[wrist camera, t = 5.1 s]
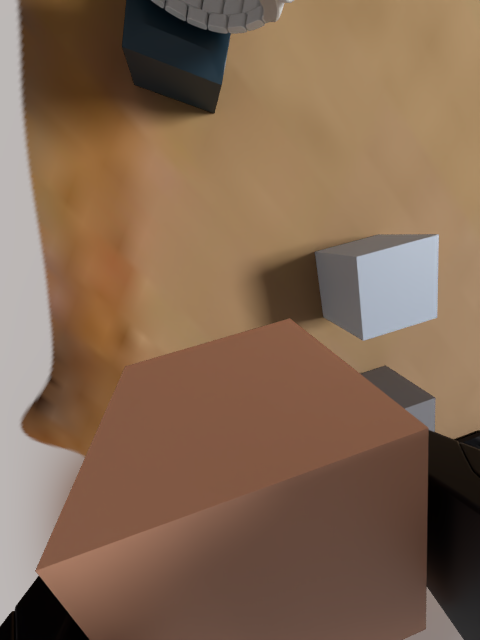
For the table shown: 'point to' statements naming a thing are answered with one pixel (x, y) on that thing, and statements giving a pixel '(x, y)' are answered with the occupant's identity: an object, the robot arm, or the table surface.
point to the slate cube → (379, 283)
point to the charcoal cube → (404, 394)
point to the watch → (188, 43)
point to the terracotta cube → (247, 501)
